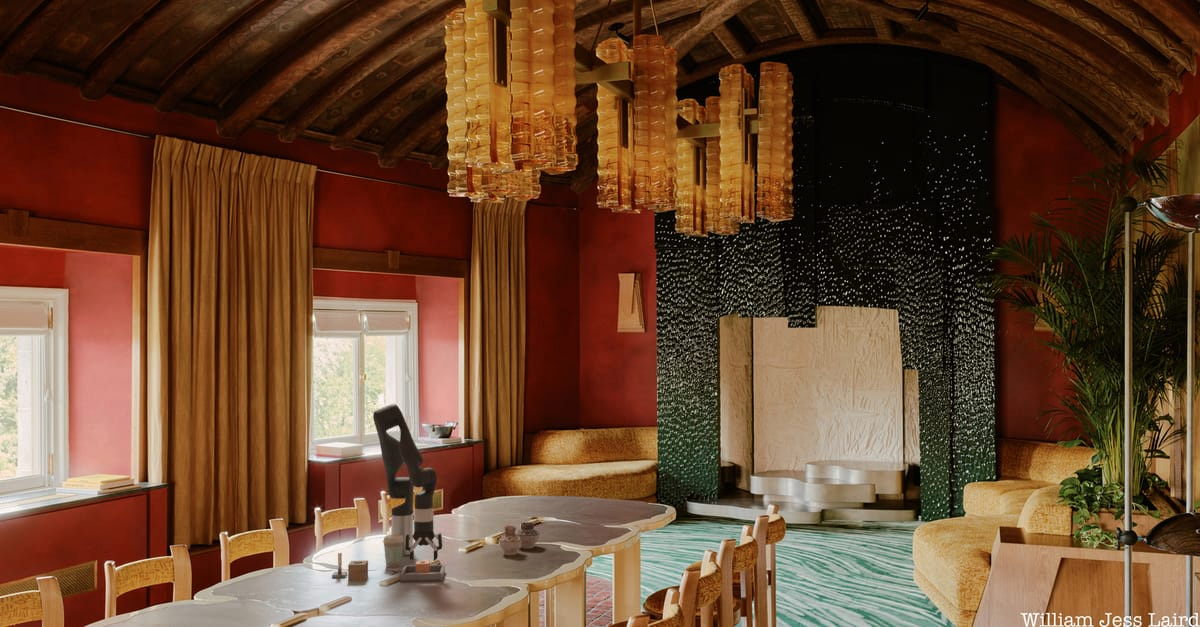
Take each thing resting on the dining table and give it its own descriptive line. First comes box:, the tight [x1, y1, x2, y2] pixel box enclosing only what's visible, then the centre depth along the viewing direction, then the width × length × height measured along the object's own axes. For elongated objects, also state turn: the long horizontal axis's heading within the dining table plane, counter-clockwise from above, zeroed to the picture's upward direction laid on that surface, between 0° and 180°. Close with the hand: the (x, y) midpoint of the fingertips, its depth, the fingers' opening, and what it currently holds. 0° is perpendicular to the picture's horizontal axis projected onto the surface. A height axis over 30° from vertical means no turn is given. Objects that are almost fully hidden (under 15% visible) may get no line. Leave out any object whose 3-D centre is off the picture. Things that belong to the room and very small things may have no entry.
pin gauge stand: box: [331, 552, 348, 579], centre depth 363 cm, size 5×5×9 cm
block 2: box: [415, 560, 431, 574], centre depth 361 cm, size 5×5×5 cm
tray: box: [399, 564, 446, 583], centre depth 361 cm, size 14×16×3 cm
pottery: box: [498, 521, 541, 556], centre depth 406 cm, size 11×25×12 cm, turn 154°
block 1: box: [347, 560, 369, 582], centre depth 359 cm, size 6×6×7 cm
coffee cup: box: [382, 534, 404, 568], centre depth 380 cm, size 8×9×12 cm
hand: (423, 560), depth 361 cm, fingers open, 8 cm apart
